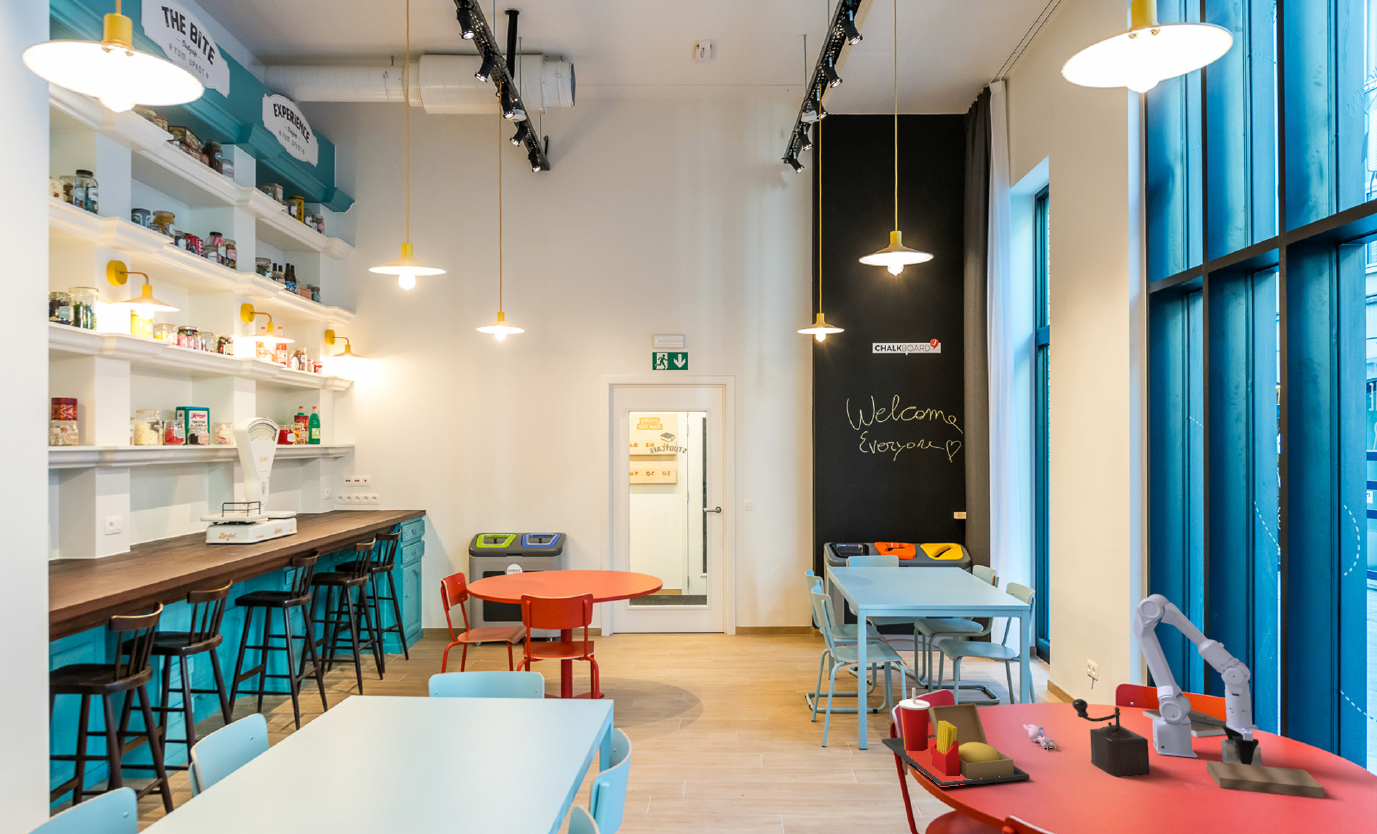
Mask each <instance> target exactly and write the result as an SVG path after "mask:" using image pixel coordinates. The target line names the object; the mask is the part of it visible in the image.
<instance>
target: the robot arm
mask: <svg viewBox="0 0 1377 834" xmlns="http://www.w3.org/2000/svg"><path fill="white" fill-rule="evenodd" d="M1159 621H1160V623H1164V624H1168V625H1172V626H1175V628H1176V629H1178V630H1179V631H1180V632H1181V633H1182V634H1184V635H1185V636H1186V637H1187V638H1188V639H1189V640H1190V641H1191V642H1192V643H1194V644H1195V645H1196V646H1197V648H1198V654H1199V655H1200V656H1201V657H1202V658H1203V659H1204V660H1205V661H1206V662H1207V663H1209V665H1210V666H1212V668H1213V669H1214V670H1216V672H1217V673H1220V674H1221V679H1222V681H1223V682H1224V687H1225V689H1224V696H1225V697H1224V699H1225V713H1226V714H1225V715H1226V721H1227V722H1226V726H1222V727H1223V729H1224V731H1225V733H1226V734H1225V735H1226V736H1227V740H1234V741H1235V743H1236V745H1237V748H1238V752H1239V757H1240V761H1241V763H1242V764H1246V765H1251V763H1252V759H1253V754H1254V751H1255V748H1256V747H1257V745H1259V743H1260V740H1258V738H1254V737H1253V736H1254V735H1253V731H1254V730H1258V726H1257V725H1256V724H1253V720H1252V706H1251V705H1252V703H1251V701H1252V700H1251V692H1250V685H1249V684H1250V683H1249V682H1248V681H1249V680H1250V678H1251V671H1250V669H1249V668H1248V667H1247V666H1246V664H1245V663H1243V662H1241V661H1240V659H1238V658H1237V657H1236V658H1235V657H1234V656H1233V655H1231V654H1230V653H1229V651H1227V650H1226V649H1225V648H1224V647H1225V645H1224V643H1222V642H1218V641H1217V640H1214V639H1208V638H1207V637H1206V636H1205V635H1204V634H1203V633H1202V632H1201V631H1200V630H1199V629H1198V628H1197V627H1196V626H1195V624H1194V623H1192V622H1191V621H1190V620H1189V619H1188V617H1187V616H1185V614H1183V612H1182V611H1180V609H1179V608H1178V607H1177V606H1176V605H1175V604H1174V603H1172V602H1170V601H1169V600H1168V598H1166V597H1165V596H1164V595H1162V594H1157V593H1153V594H1151V595H1149V596H1148V597H1146V598H1144V599H1142V600H1141V601H1140V602H1139V603H1138V604H1137V606H1136V607H1135V614H1134V618H1133V624H1132V630H1133V632H1134V636H1135V637H1136V640H1137V642H1138V644H1139V647H1140V649H1141V652H1142V654H1143V658H1144V659H1145V660H1144V661H1145V662H1146V665H1147V666H1148V669H1149V672H1150V674H1151V677H1152V679H1153V681H1154V683H1155V686H1156V690H1157V691H1156V693H1157V694H1156V695H1157V700H1158V703H1159V706H1158V707H1159V708H1158V709H1159V711H1160V714H1161V719H1152V738H1153V740H1152V741H1153V747H1154V750H1156V752H1157V754H1159V755H1161V756H1162V755H1163V756H1174V757H1185V758H1196V759H1197V758H1198V755H1197V754H1196V753H1195V751H1194V750H1193V739H1192V738H1193V737H1192V736H1193V735H1191V720H1190V719H1189V717H1188V715H1187V714H1188V713H1189V712H1190V710H1191V709H1192V704H1191V701H1190V700H1189V698H1188V697H1186V695H1184V693H1183V691H1182V689H1181V688H1180V686H1179V685H1178V684H1177V683H1176V681H1175V679H1174V676H1173V674H1172V671H1171V669H1170V666H1169V664H1168V661H1167V659H1166V656H1165V654H1164V652H1163V649H1162V646H1161V644H1160V642H1159V639H1158V637H1157V635H1156V632H1155V628H1156V626H1157V625H1158V623H1159Z"/></svg>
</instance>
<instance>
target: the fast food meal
mask: <svg viewBox="0 0 1377 834" xmlns="http://www.w3.org/2000/svg"><path fill="white" fill-rule="evenodd" d="M916 690H917V689H916V687H912V688H911V692H912V693H911V695H912V696H911V697H912V698H911V699H910V698H908V699H902V700H900V701H899V702H898V706H899V709H900V715H901V726H902V735H903V736H901V737H891V738H890V737H889V738H882V739H881V742H882V744H883V745H885V746H886V747H887V748H888V749H890V750H891V751H892V752H894V753H895V754H897V756H899V757H900V758H902V759H903V760H904V761H905V762H906V763H908V764H909V765H910V764H912V765H913V766H915V767H916V768H918V769H920V770H921V771H923V772H924V773H925V774H926V775H927V776H929V777H930V778H931V779H932V780H933V781H935V782H936V783H938V784H940V786H949V785H956V784H957V785H960V784H964V785H965V784H976V785H983V784H994V783H993V782H995V783H1001V782H1004V783H1005V782H1012V781H1013V782H1014V781H1020V780H1029V779H1030V774H1029V773H1027V772H1025V771H1024V770H1022V769H1021V768H1019V767H1018V766H1016V765H1014V758H1012V757H1010V756H1008V755H1006V754H1005V753H1004V752H1001V751H1000V750H998V749H997V748H996V747H993V746H992V745H990V744H988V741H987V736H986V733H985V731H984V727H983V724H982V721H981V718H980V714H979V711H978V708H977V707H978V706H977V704H976V702H971V703H961V704H960V703H958V704H949V705H937V706H934V705H933V706H931V704H930V702H928V701H925V700H922V699H917V695H916V694H917V692H916ZM929 720H930V723H931V727H932V729H933V733H934V734H929ZM931 737H936V741H935V742H934V743H933V744H932V746H931V754H932V766H934V767H935V768H936V769H938V770H939V771H941V772H942V773H943V774H945V776H960V774H962V775H963V776H964V777H965V778H967V779H972V780H963V781H953V782H944V783H943V782H941V781H940V780H939V779H937V778H936V777H935V776H933V775H932V774H931V773H929V772H928V771H927V770H926V769H924V768H923V767H922V766H920V765H919V764H918V763H917V762H915V761H914V760H913V759H911V758H910V757H909V756H908V755H906V750H907V751H908V750H909V751H924V750H926V749H928V738H931ZM912 765H911V766H912ZM913 766H912V767H913ZM916 768H915V769H916ZM999 776H1000V777H999ZM980 778H982V779H980ZM991 782H992V783H991Z"/></svg>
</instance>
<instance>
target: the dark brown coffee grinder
mask: <svg viewBox="0 0 1377 834" xmlns="http://www.w3.org/2000/svg"><path fill="white" fill-rule="evenodd" d="M1071 704H1072V707H1073V709H1074V710H1075V711H1076V712H1077V714H1076V715H1077V717H1079V718H1082V719H1085V720H1086V721H1089V722H1094V723H1095V722H1096V723H1097V722H1098V723H1099V722H1104V721H1108V722H1107V724H1108V725H1107V726H1102V727H1100V728H1090V729H1089V732H1090V733H1089V734H1090V736H1089V737H1090V751H1091V755H1090V756H1091V760H1090V763H1092V764H1093V765H1094V766H1095V767H1096V766H1097V767H1096V768H1097V769H1099V770H1101V769H1102V771H1103V772H1105V773H1106V774H1108V775H1110V776H1113V777H1115V778H1116V777H1117V778H1123V777H1122V776H1127V777H1135V775H1138V776H1144V775H1143V774H1146V775H1150V774H1151V768H1150V756H1149V755H1150V754H1149V740H1148V738H1146V737H1144V736H1142V735H1141V734H1138V733H1136V732H1134V731H1132V730H1129V729H1127V728H1126V727H1124V726H1122V725H1121V724H1120V723H1121V722H1120V716H1121V712H1120V711H1121V710H1120V707H1119V706H1116V707H1114V713H1113V714H1111V715H1108V716H1104V717H1096V718H1092V717H1088V716H1089V713H1088V712H1087V709H1088V707H1089V706H1088V705H1089V704H1088V702H1087V701H1086V700H1085V699H1082V698H1077V699H1075V700H1073V702H1072V703H1071ZM1113 719H1115V724H1112V722H1110V721H1109V720H1113ZM1120 776H1121V777H1120Z"/></svg>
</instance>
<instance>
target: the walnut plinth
mask: <svg viewBox="0 0 1377 834" xmlns="http://www.w3.org/2000/svg"><path fill="white" fill-rule="evenodd" d="M1206 771H1207V772H1208V774H1209V775H1210V776H1211V778H1212V779H1213V780H1214V782H1215V783H1216V784H1217V786H1218V787H1219V788H1220V789H1229V790H1241V791H1248V792H1249V791H1250V792H1258V793H1259V792H1260V793H1267V794H1268V793H1269V794H1279V795H1287V794H1289V795H1290V796H1298V797H1299V796H1300V797H1307V798H1317V797H1319V798H1320V799H1325V798H1326V797H1325V787H1324V786H1323V785H1322V784H1320V783H1319V782H1318V781H1317V780H1316V779H1315V778H1314V777H1313V776H1312V775H1311V774H1310V773H1308V771H1306V770H1305V769H1299V768H1289V767H1288V768H1287V767H1278V766H1277V767H1275V766H1265V765H1262V766H1256V765H1245V764H1234V763H1224V762H1223V761H1221V762H1220V761H1210V760H1206ZM1319 798H1318V799H1319Z"/></svg>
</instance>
